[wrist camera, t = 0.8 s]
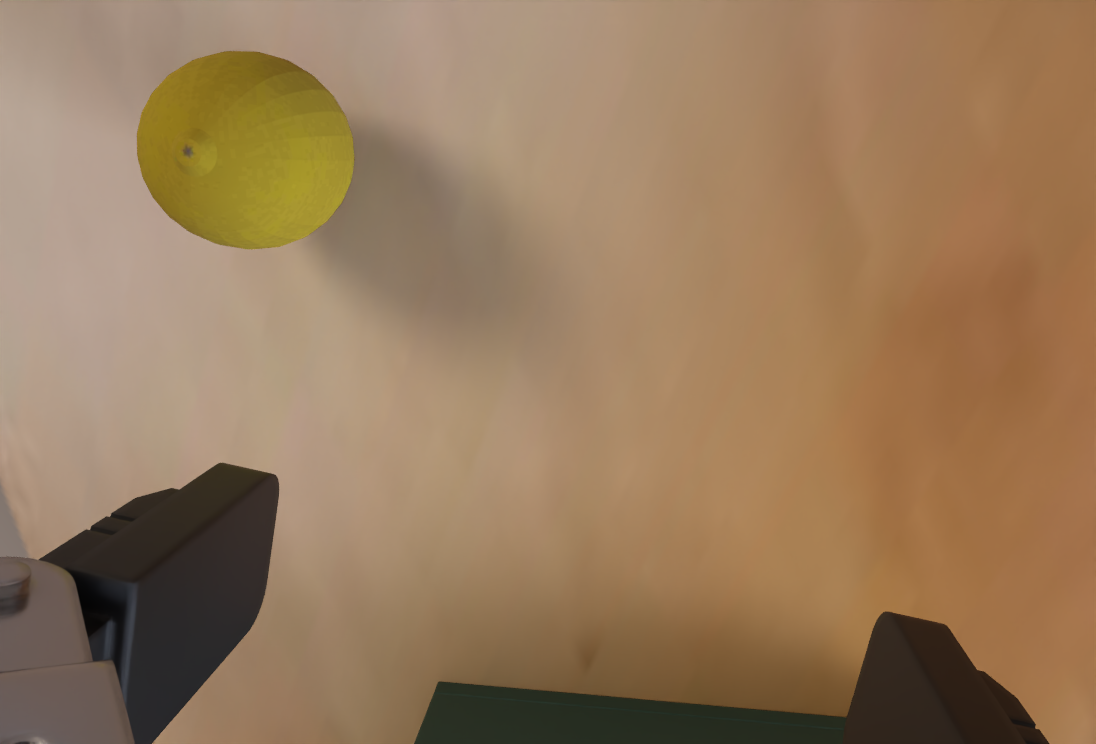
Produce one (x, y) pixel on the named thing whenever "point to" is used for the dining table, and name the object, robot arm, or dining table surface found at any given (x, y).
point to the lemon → (245, 150)
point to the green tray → (606, 720)
